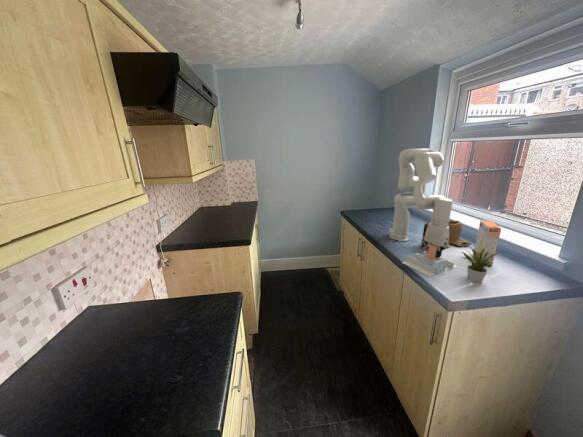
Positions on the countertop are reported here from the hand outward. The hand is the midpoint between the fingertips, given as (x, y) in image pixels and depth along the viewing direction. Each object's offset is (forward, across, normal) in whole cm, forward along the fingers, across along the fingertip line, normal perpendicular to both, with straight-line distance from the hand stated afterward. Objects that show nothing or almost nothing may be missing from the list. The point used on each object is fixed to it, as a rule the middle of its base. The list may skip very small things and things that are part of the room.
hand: (433, 255), depth 122 cm
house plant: (+5, +20, +3) cm, 21 cm away
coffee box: (+6, -13, +16) cm, 22 cm away
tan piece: (+6, -13, +38) cm, 41 cm away
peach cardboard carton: (+2, 0, 0) cm, 2 cm away
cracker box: (+6, +9, +28) cm, 30 cm away
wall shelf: (+5, +1, -4) cm, 6 cm away
